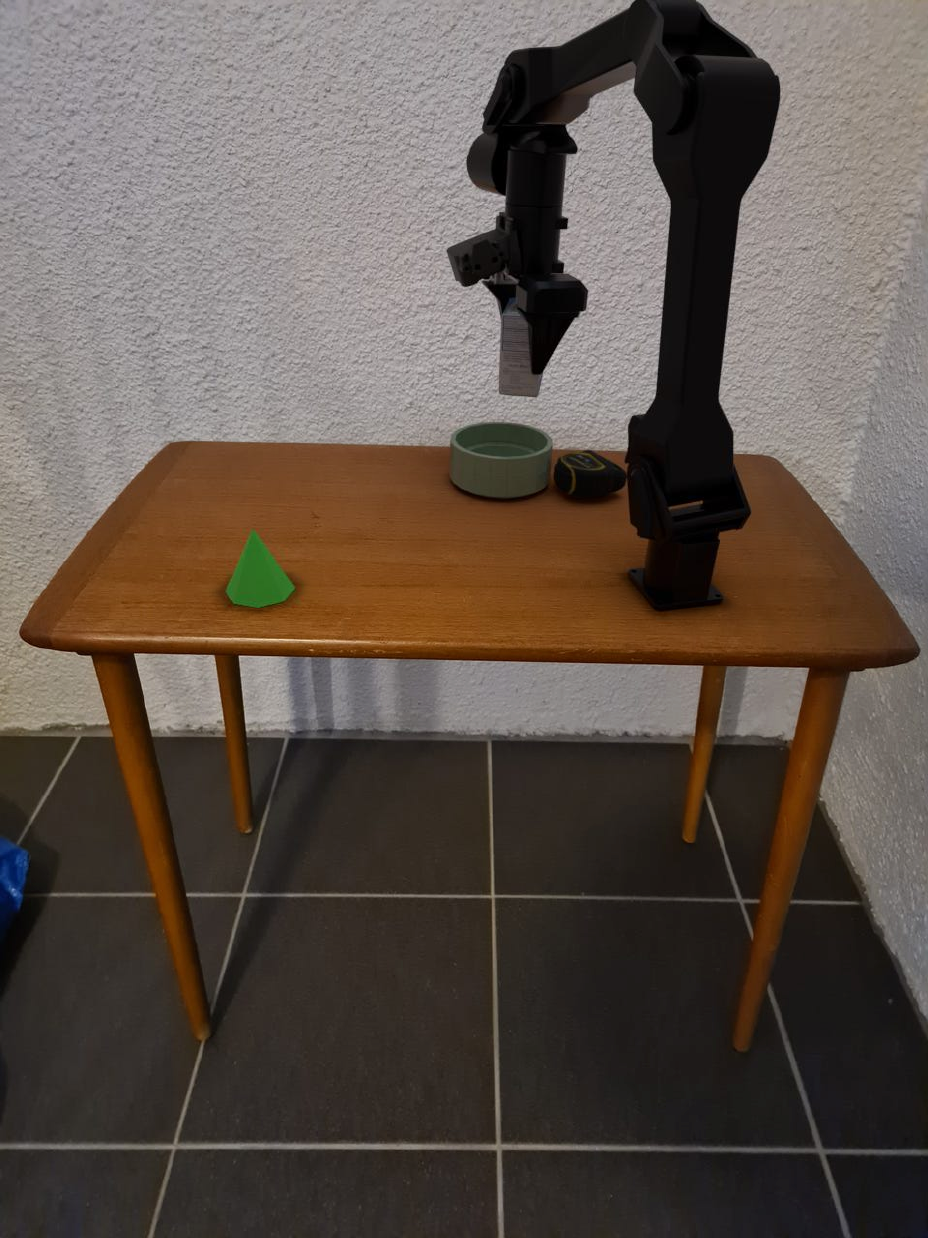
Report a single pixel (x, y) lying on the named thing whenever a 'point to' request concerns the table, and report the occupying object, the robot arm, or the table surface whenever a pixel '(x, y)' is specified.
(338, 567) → the table surface
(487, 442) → the bowl
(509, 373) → the medicine box
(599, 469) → the tape measure
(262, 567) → the green faceted cone
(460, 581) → the table surface
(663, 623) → the table surface
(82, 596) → the table surface
